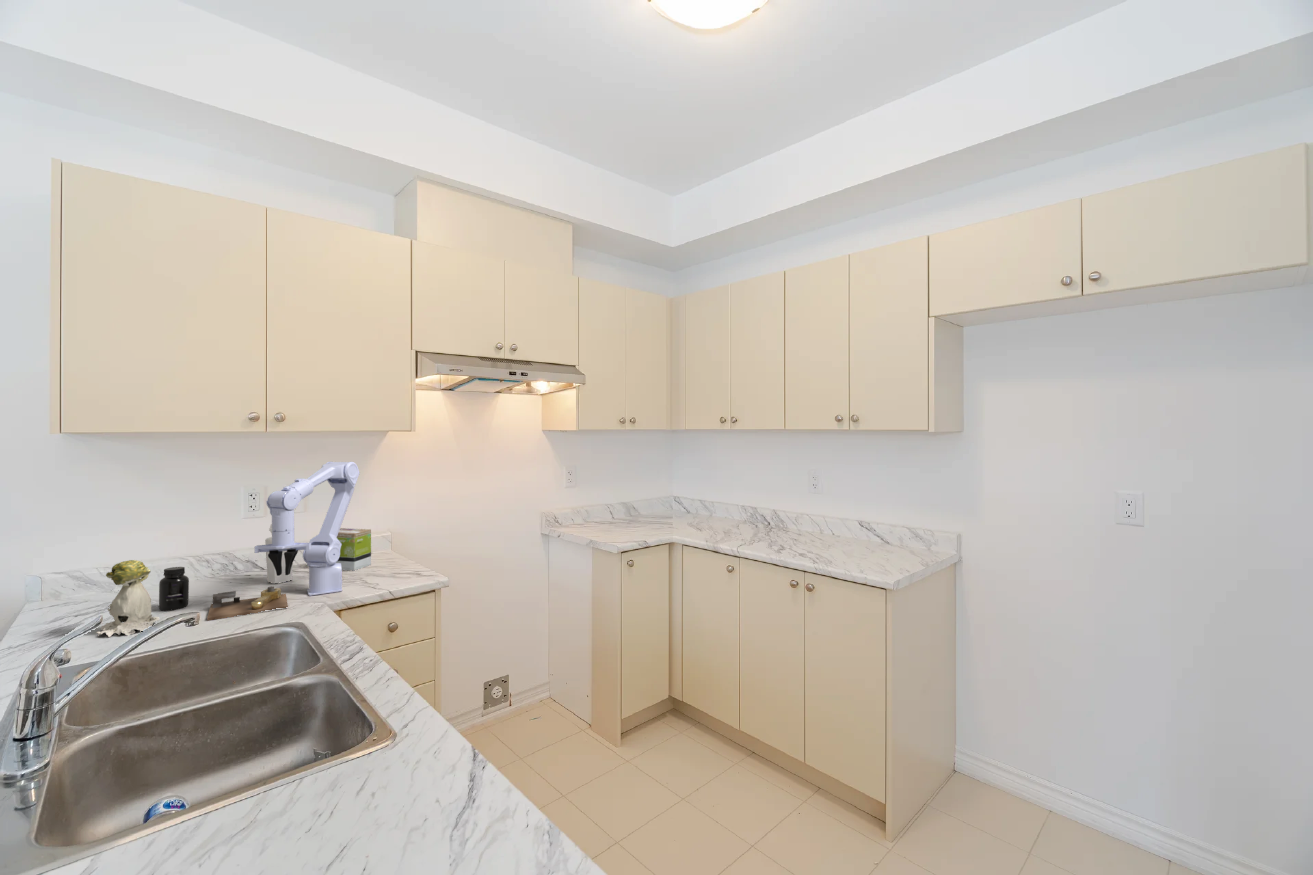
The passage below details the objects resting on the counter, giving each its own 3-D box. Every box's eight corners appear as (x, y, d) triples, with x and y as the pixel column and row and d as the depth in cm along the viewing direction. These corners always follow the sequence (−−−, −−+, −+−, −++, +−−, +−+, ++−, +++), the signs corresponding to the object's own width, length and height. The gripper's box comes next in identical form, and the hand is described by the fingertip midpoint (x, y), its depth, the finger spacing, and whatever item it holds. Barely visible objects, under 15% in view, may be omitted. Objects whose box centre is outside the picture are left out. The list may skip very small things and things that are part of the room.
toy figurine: (160, 618, 161) (160, 553, 161) (158, 630, 151) (157, 561, 151) (102, 627, 153) (101, 559, 153) (95, 640, 143) (94, 568, 143)
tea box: (319, 569, 218) (319, 531, 218) (338, 563, 228) (338, 527, 228) (354, 571, 215) (354, 532, 215) (372, 565, 225) (371, 528, 225)
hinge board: (285, 595, 182) (285, 582, 182) (288, 608, 169) (287, 593, 169) (211, 606, 171) (210, 592, 171) (207, 620, 158) (207, 605, 158)
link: (265, 596, 178) (265, 588, 178) (282, 595, 180) (282, 587, 180) (246, 609, 165) (246, 601, 165) (264, 608, 166) (264, 600, 166)
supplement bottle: (171, 612, 166) (171, 571, 166) (152, 610, 168) (152, 570, 167) (194, 605, 173) (194, 566, 173) (176, 603, 174) (176, 565, 174)
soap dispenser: (294, 580, 202) (293, 519, 201) (274, 584, 196) (273, 521, 196) (285, 578, 205) (284, 517, 205) (265, 582, 200) (264, 520, 199)
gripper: (250, 533, 166) (250, 579, 166) (306, 530, 171) (306, 575, 171) (259, 529, 173) (259, 573, 173) (313, 527, 177) (313, 570, 177)
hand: (283, 574), depth 172 cm, fingers closed
